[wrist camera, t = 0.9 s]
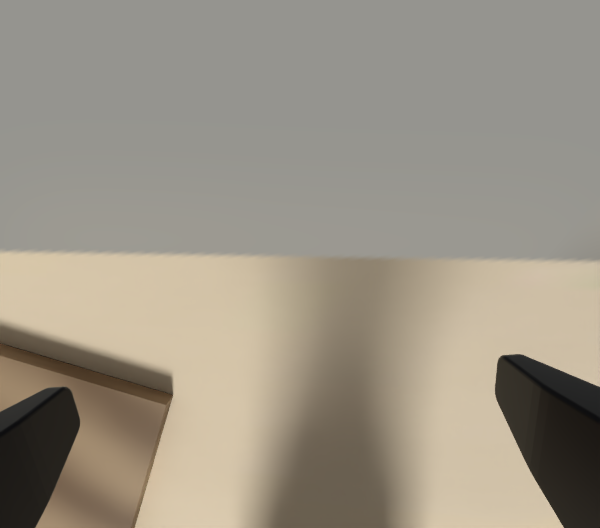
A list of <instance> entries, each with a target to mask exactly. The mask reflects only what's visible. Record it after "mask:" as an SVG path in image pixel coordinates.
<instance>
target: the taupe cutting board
mask: <svg viewBox="0 0 600 528" xmlns="http://www.w3.org/2000/svg"><path fill="white" fill-rule="evenodd" d="M61 386H66V387H68V388H70V390H71V391H72V393H73V397H74V400H75V403H76V406H77V410H78V413H79V416H80V428H79V431H78V434H77V436H76V439H75V441H74V444H73V446H72V448H71V451H70V453H69V456H68V458H67V460H66V463H65V465H64V468H63V470H62V472H61V475H60V477H59V480H58V482H57V484H56V487H55V489H54V491H53V494H52V496H51V498H50V500H49V502H48V504H47V506H46V508H45V510H44V512H43V514H42V516H41V518H40V520H39V522H38V524H37V526H36V528H134V527H135V524H136V521H137V517H138V514H139V510H140V507H141V503H142V500H143V496H144V493H145V490H146V486H147V483H148V479H149V476H150V472H151V469H152V466H153V462H154V459H155V455H156V452H157V448H158V445H159V442H160V438H161V435H162V431H163V428H164V424H165V421H166V417H167V414H168V411H169V407H170V404H171V400H172V397H173V395H171V394H168V393H164V392H161V391H158V390H154V389H151V388H147V387H144V386H141V385H137V384H134V383H131V382H127V381H124V380H121V379H117V378H114V377H111V376H107V375H104V374H101V373H97V372H94V371H91V370H87V369H84V368H81V367H77V366H74V365H71V364H67V363H64V362H61V361H57V360H54V359H51V358H47V357H44V356H41V355H37V354H34V353H31V352H27V351H24V350H21V349H17V348H14V347H11V346H7V345H4V344H1V343H0V412H1V411H3V410H5V409H6V408H8V407H10V406H12V405H14V404H16V403H18V402H20V401H22V400H24V399H26V398H28V397H30V396H32V395H34V394H36V393H38V392H40V391H41V390H43V389H46V388H49V387H61Z"/></svg>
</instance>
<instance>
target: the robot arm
mask: <svg viewBox="0 0 600 528" xmlns="http://www.w3.org/2000/svg"><path fill="white" fill-rule="evenodd" d="M495 395H496V399H497V402H498V404H499V406H500V408H501V410H502V412H503V415H504V417H505V419H506V421H507V423H508V425H509V427H510V430H511V432H512V434H513V436H514V438H515V440H516V442H517V445H518V447H519V449H520V451H521V453H522V455H523V457H524V459H525V461H526V463H527V465H528V467H529V469H530V471H531V473H532V475H533V476H534V478H535V480H536V482H537V483H538V485H539V487H540V488H541V490H542V492H543V493H544V495H545V497H546V498H547V500H548V502H549V503H550V505H551V507H552V508H553V510H554V512H555V513H556V515H557V517H558V518H559V520H560V522H561V523H562V525H563V527H564V528H600V387H598V386H596V385H593V384H591V383H589V382H586V381H584V380H581V379H579V378H577V377H574V376H572V375H569V374H567V373H565V372H562V371H560V370H558V369H555V368H553V367H550V366H548V365H546V364H543V363H541V362H538V361H536V360H534V359H531V358H529V357H526V356H524V355H521V354H514V355H503V356H501V357H500V358H499V360H498V363H497V373H496V384H495ZM79 428H80V416H79V413H78V410H77V406H76V403H75V400H74V397H73V393H72V391H71V390H70V388H68V387H66V386H61V387H49V388H46V389H43V390H41V391H40V392H38V393H36V394H34V395H32V396H30V397H28V398H26V399H24V400H22V401H20V402H18V403H16V404H14V405H12V406H10V407H8V408H6V409H5V410H3V411H1V412H0V528H36V526H37V524H38V522H39V520H40V518H41V516H42V514H43V512H44V510H45V508H46V506H47V504H48V502H49V500H50V498H51V496H52V494H53V491H54V489H55V487H56V484H57V482H58V480H59V477H60V475H61V472H62V470H63V468H64V465H65V463H66V460H67V458H68V456H69V453H70V451H71V448H72V446H73V444H74V441H75V439H76V436H77V434H78V431H79Z"/></svg>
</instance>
